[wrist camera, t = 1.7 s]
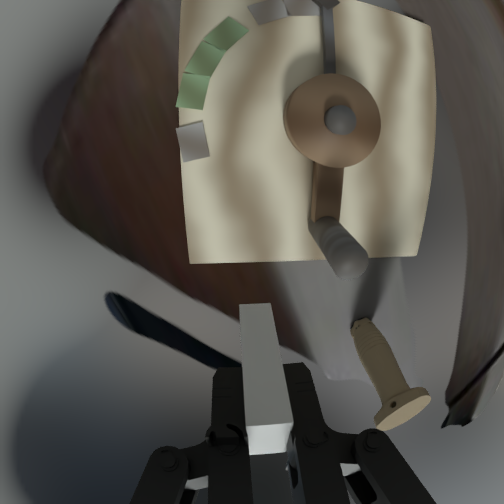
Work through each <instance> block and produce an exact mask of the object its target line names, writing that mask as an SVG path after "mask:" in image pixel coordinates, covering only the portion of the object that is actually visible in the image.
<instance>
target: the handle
mask: <svg viewBox="0 0 504 504" xmlns="http://www.w3.org/2000/svg"><path fill="white" fill-rule="evenodd" d="M350 331H351V335H352V338H353V339H354V344H355V347H356V350H357V353H358V356H359V358H360V360H361V362H362V365H363V366H364V368H365V370H366V372H367V374H368V375H369V377H370V379H371V381H372V383H373V385H374V387H375V389H376V391H377V393H378V395H379V397H380V399H381V402H382V408H381V409H380V410H379V411H378V413H377V414H376V415H375V417H374V423H375V425H376V428H377V429H379V430H381V431H385V430H389V429H392V428H394V427H396V426H398V425H400V424H402V423H404V422H406V421H407V420H409V419H410V418H412V417H413V416H415V415H416V414H418V413H419V412H420V411H421V410H422V409H423V408H424V407H425V406H426V405H427V404H428V403H429V402H430V400H431V397H430V395H429V393H428V391H427V390H426V389H425V388H423V387H416V388H411V389H410V387H409V386H408V384H407V383H406V381H405V378H404V376H403V374H402V372H401V370H400V368H399V366H398V363H397V361H396V359H395V357H394V355H393V352H392V350H391V348H390V346H389V344H388V343H387V341H386V339H385V338H384V336H383V335H382V334H381V332H380V331H379V330H378V329H377V328H376V327H375V325H374V324H373V323H372V322H371V321H370V320H369V319H368V318H363V319H361V320H357V321H355V322H354V325H353V327H352V329H351V330H350Z"/></svg>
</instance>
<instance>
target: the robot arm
mask: <svg viewBox="0 0 504 504" xmlns="http://www.w3.org/2000/svg"><path fill="white" fill-rule="evenodd" d="M239 307H240V332H241V350H242V351H241V353H242V367H236V368H218V369H217V371H216V373H215V375H214V377H213V390H212V415H211V416H212V417H211V426H210V428H209V429H208V430H207V432H206V436H205V438H206V440H205V441H204V442H202V443H201V444H198V445H196V446H192V447H188V448H184V449H178V448H176V447H172V446H165V447H160V448H158V449H156V450H155V451H154V452H153V453H152V455H151V456H150V458H149V460H148V463H147V465H146V467H145V470H144V472H143V474H142V476H141V479H140V481H139V483H138V486H137V488H136V490H135V492H134V495H133V497H132V499H131V502H130V504H195V501H196V498H197V495H198V492H199V489H202V488H206V487H208V504H253V494H252V482H251V470H250V457H249V455H254V454H269V453H279V452H286V450H287V453H288V461H287V464H286V470H288V473H289V479H290V485H291V492H292V499H293V504H350V501H349V496H348V492H347V490H348V491H349V493H350V495H351V496H352V498H353V500H354V502H355V503H356V504H436V502H435V501H434V500H433V498H432V497H431V495H430V494H429V493H428V491H427V490H426V488H425V487H424V486H423V485H422V483H421V482H420V480H419V479H418V477H417V476H416V475H415V474H414V472H413V470H412V469H411V468H410V466H409V465H408V464H407V462H406V461H405V459H404V458H403V457H402V455H401V454H400V452H399V451H398V450H397V448H396V447H395V445H394V444H393V443H392V441H391V440H390V439H389V437H388V436H387V435H386V434H385V433H384V432H383V431H381V430H379V429H367V430H364V431H362V432H361V433H360V434H347V433H339V432H336V431H334V430H332V429H331V428H329V427H328V426H327V425H326V423H325V422H324V419H323V416H322V412H321V408H320V404H319V401H318V397H317V394H316V391H315V386H314V383H313V380H312V376H311V372H310V370H309V369H308V368H307V367H306V365H305V364H304V363H303V362H301V363H291V364H282V360H281V354H280V349H279V344H278V339H277V334H276V329H275V324H274V319H273V314H272V309H271V304H270V303H265V304H241V305H239Z"/></svg>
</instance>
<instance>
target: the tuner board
mask: <svg viewBox="0 0 504 504" xmlns="http://www.w3.org/2000/svg"><path fill="white" fill-rule="evenodd" d="M338 1H339V2H340V3H339V4H338V5H337V6H335V7H334V8H333V21H334V36H335V57H336V74H341V75H345V76H348V77H350V78H352V79H354V80H356V81H357V82H359V83H360V84H362V85H363V86H364V87H365V88H366V89H367V90H368V91H369V92H370V94H371V95H372V96H373V98H374V100H375V102H376V104H377V106H378V109H379V113H380V118H381V131H380V136H379V139H378V142H377V144H376V146H375V148H374V149H373V151H372V152H371V153H370V154H369V155H368V157H366V158H365V159H364V160H363V161H361V162H359V163H357V164H355V165H353V166H349V167H344V176H343V189H342V200H341V211H340V220H339V223H340V224H341V225H342V226H343V227H344V228H345V229H346V230H347V231H348V232H349V233H350V234H351V235H352V236H353V237H354V238H355V239H356V240H357V242H358V243H359V244H360V245H361V246H362V247H363V248H364V249H365V250H366V252H367V253H368V257H369V258H379V257H402V256H416V255H417V252H418V248H419V243H420V239H421V235H422V230H423V225H424V220H425V215H426V209H427V203H428V197H429V191H430V184H431V176H432V168H433V158H434V146H435V129H436V79H435V63H434V51H433V42H432V35H431V28H430V26H428V25H426V24H424V23H421V22H419V21H417V20H414V19H412V18H409V17H407V16H404V15H401V14H399V13H396V12H393V11H390V10H387V9H384V8H381V7H378V6H375V5H371V4H368V3H364V2H361V1H357V0H338ZM322 74H324V66H323V37H322V20H321V8H320V7H319V6H318V5H316V4H315V3H314V2H313V1H312V0H181V15H180V36H179V94H178V98H177V103H176V107H179V128H176V132H177V136H178V141H179V145H180V154H181V171H182V186H183V199H184V211H185V222H186V232H187V242H188V251H189V259H190V264H193V263H233V262H268V261H299V260H327V259H326V258H325V256H324V254H323V253H322V251H321V250H320V248H319V246H318V245H317V243H316V242H315V240H314V239H313V237H312V235H311V234H310V232H309V230H308V223H309V220H310V218H311V205H312V189H313V169H314V161H313V160H311V159H309V158H307V157H305V156H304V155H302V154H301V153H300V152H299V151H298V150H296V149H295V147H294V146H293V145H292V144H291V142H290V140H289V139H288V137H287V135H286V132H285V129H284V124H283V112H284V107H285V104H286V101H287V99H288V97H289V96H290V94H291V93H292V92H293V91H294V90H295V89H296V88H297V87H298V86H300V85H301V84H302V83H304V82H306V81H307V80H309V79H311V78H313V77H315V76H318V75H322Z"/></svg>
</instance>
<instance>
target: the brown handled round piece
mask: <svg viewBox="0 0 504 504" xmlns="http://www.w3.org/2000/svg"><path fill="white" fill-rule="evenodd" d="M312 1H313V2H314V3H315V4H316V5H318V6H319V7H320V8H321V20H322V37H323V66H324V74H322V75H318V76H315V77H313V78H311V79H309V80H307V81H306V82H304V83H302V84H301V85H300V86H298V87H297V88H296V89H295V90H294V91H293V92H292V93H291V94H290V96H289V97H288V99H287V101H286V104H285V107H284V112H283V124H284V129H285V132H286V135H287V137H288V139H289V140H290V142H291V144H292V145H293V146H294V147H295V149H296V150H298V151H299V152H300V153H301V154H302V155H304V156H305V157H307V158H309V159H311V160H313V161H314V169H313V189H312V205H311V218H310V220H309V223H308V230H309V232H310V234H311V235H312V237H313V239H314V240H315V242H316V243H317V245H318V246H319V248H320V250H321V251H322V253H323V254H324V256H325V258H326V259H327V261H328V262H329V264H330V266H331V267H332V269H333V271H334V272H335V274H336V275H337V276H338V277H339V278H340V279H343V280H352V279H355V278H357V277H359V276H360V275H361V274H362V273H363V272H364V271H365V270H366V268H367V266H368V262H369V257H368V253H367V252H366V250H365V249H364V248H363V247H362V246H361V245H360V244H359V243H358V242H357V240H356V239H355V238H354V237H353V236H352V235H351V234H350V233H349V232H348V231H347V230H346V229H345V228H344V227H343V226H342V225H341V224H340V223H339V220H340V211H341V200H342V189H343V176H344V167H349V166H353V165H355V164H357V163H359V162H361V161H363V160H364V159H365V158H366V157H368V155H369V154H370V153H371V152H372V151H373V149H374V148H375V146H376V144H377V142H378V139H379V136H380V131H381V118H380V113H379V109H378V106H377V104H376V102H375V100H374V98H373V96H372V95H371V94H370V92H369V91H368V90H367V89H366V88H365V87H364V86H363V85H362V84H360V83H359V82H357V81H356V80H354V79H352V78H350V77H348V76H345V75H341V74H336V57H335V36H334V21H333V8H334V7H335V6H337V5H338V4H339V3H340V2H339V1H338V0H312Z"/></svg>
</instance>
